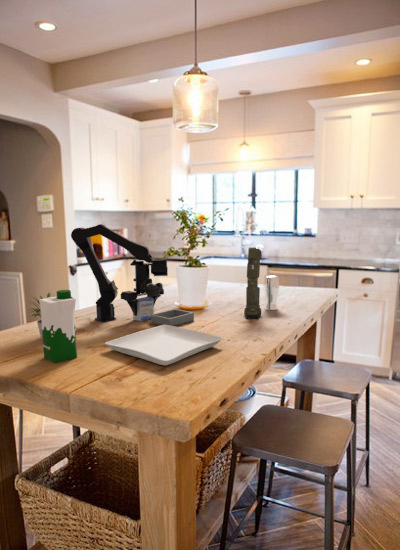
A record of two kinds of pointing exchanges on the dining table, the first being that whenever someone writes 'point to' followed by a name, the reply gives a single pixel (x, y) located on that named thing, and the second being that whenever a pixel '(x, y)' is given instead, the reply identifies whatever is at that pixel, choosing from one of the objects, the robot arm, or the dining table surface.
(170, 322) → the bin
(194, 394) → the dining table surface
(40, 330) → the house plant
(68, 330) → the milk carton
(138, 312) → the medicine box
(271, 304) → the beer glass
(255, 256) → the mechanical leg
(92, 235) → the robot arm
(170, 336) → the square plate
